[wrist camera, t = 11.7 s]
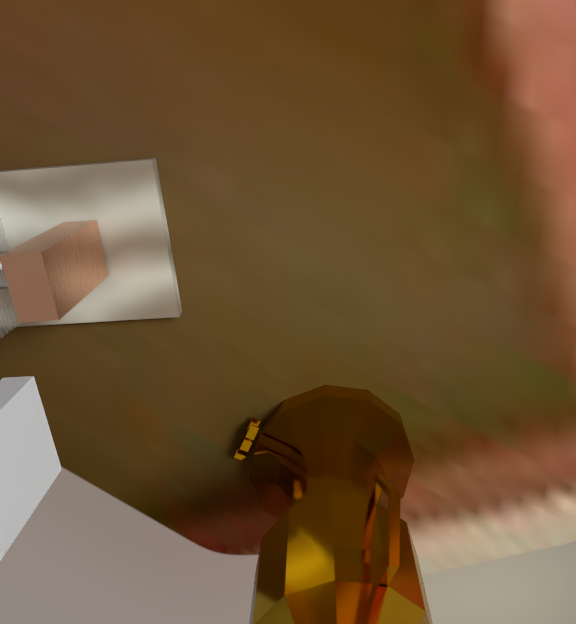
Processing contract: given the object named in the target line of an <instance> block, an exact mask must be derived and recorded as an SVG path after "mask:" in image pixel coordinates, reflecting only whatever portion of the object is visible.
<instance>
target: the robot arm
mask: <svg viewBox="0 0 576 624" xmlns="http://www.w3.org/2000/svg"><path fill="white" fill-rule="evenodd" d="M61 470H62V468H61V465H60V462H59V458H58V455H57V452H56V448H55V445H54V442H53V439H52V435H51V432H50V429H49V425H48V422H47V419H46V415H45V412H44V409H43V405H42V402H41V399H40V396H39V392H38V389H37V386H36V382H35V379H34V376H28V377H9V378H2V379H1V380H0V561H1V559H2V558H3V556H4V555H5V553H6V552H7V550H8V549H9V547H10V546H11V544H12V543H13V541H14V540H15V538H16V537H17V535H18V534H19V532H20V531H21V529H22V528H23V526H24V525H25V523H26V522H27V520H28V519H29V517H30V516H31V514H32V513H33V511H34V510H35V508H36V507H37V505H38V504H39V502H40V501H41V500H42V498H43V497H44V495H45V494H46V492H47V491H48V489H49V488H50V486H51V484H52V483H53V482H54V480H55V478H56V477H57V476H58V474H59V473H60V471H61Z"/></svg>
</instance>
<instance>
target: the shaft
mask: <svg viewBox="0 0 576 624" xmlns="http://www.w3.org/2000/svg"><path fill="white" fill-rule="evenodd" d="M108 276H109V272H108V268H107V263H106V259H105V254H104V250H103V245H102V241H101V236H100V232H99V227H98V223H97V220H87V221H73V222H62V223H61V224H59V225H57V226H55V227H53V228H51V229H49V230H47V231H45V232H43V233H41V234H39V235H37V236H35V237H33V238H32V239H30V240H28V241H26V242H24V243H22V244H20V245H18V246H16V247H14V248H12V249H10V250H4V251H0V289H4V288H9V291H10V294H11V298H12V301H13V304H14V308H15V311H16V314H17V318H18V321H19V322H36V321H52V320H60V319H61V318H62V317H63V316H64V315H65V314H67V313H68V312H69V311H70V310H71V309H72V308H73V307H74V306H76V305H77V304H78V303H79V302H80V301H81V300H82V299H83V298H84V297H86V296H87V295H88V294H89V293H90V292H91V291H92V290H93V289H95V288H96V287H97V286H98V285H99V284H100V283H101V282H102V281H104V280H105V279H106V278H107V277H108Z"/></svg>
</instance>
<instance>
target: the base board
mask: <svg viewBox="0 0 576 624" xmlns="http://www.w3.org/2000/svg"><path fill="white" fill-rule="evenodd" d="M0 215H1V219H2V222H3V226H4V229H5V232H6V236H7V239H8V243H9V246H10V249H12V248H14V247H16V246H18V245H20V244H22V243H24V242H26V241H28V240H30V239H32V238H33V237H35V236H37V235H39V234H41V233H43V232H45V231H47V230H49V229H51V228H53V227H55V226H57V225H59V224H61V223H62V222H73V221H87V220H97V223H98V227H99V232H100V236H101V241H102V245H103V250H104V254H105V259H106V263H107V268H108V272H109V276H108V277H107V278H106V279H105V280H104V281H102V282H101V283H100V284H99V285H98V286H97V287H96V288H95V289H93V290H92V291H91V292H90V293H89V294H88V295H87V296H86V297H84V298H83V299H82V300H81V301H80V302H79V303H78V304H77V305H76V306H74V307H73V308H72V309H71V310H70V311H69V312H68V313H67V314H65V315H64V316H63V317H62V318H61V319H60V320H52V321H36V322H21V323H20V324H19V325H18V326H16V327H21V326H37V325H54V324H70V323H87V322H104V321H120V320H137V319H153V318H170V317H179V316H180V315H181V313H182V308H181V302H180V296H179V290H178V285H177V279H176V273H175V267H174V261H173V256H172V250H171V244H170V238H169V232H168V227H167V221H166V215H165V209H164V203H163V198H162V192H161V186H160V180H159V174H158V169H157V163H156V158H149V159H137V160H125V161H113V162H101V163H89V164H77V165H65V166H53V167H41V168H29V169H17V170H5V171H0Z"/></svg>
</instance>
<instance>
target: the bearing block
mask: <svg viewBox="0 0 576 624" xmlns="http://www.w3.org/2000/svg"><path fill="white" fill-rule="evenodd" d="M4 250H10V246H9V243H8V239H7V236H6V232H5V229H4V226H3V222H2V219H1V215H0V251H4ZM20 323H21V322H19V321H18V318H17V314H16V311H15V308H14V304H13V301H12V298H11V294H10V291H9V288H4V289H0V339H1V338H2V337H4V336H5V335H6V334H8V333H9V332H10V331H11V330H13V329H14V328H15V327H16V326H18V325H19V324H20Z"/></svg>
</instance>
